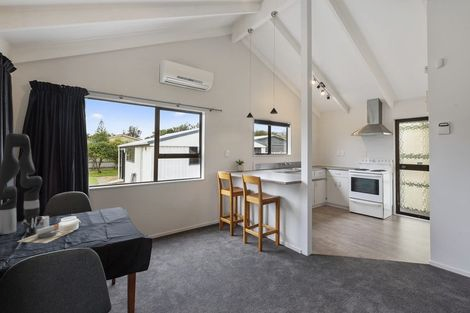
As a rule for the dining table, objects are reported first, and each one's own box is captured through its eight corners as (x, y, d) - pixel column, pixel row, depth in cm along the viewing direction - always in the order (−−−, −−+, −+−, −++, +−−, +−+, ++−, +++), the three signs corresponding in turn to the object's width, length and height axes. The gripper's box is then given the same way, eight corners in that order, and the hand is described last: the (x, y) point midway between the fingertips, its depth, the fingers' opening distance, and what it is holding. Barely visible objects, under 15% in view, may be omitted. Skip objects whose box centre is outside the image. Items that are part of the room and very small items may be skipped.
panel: (16, 243, 142) (16, 241, 142) (48, 231, 164) (48, 229, 164) (46, 245, 140) (46, 242, 140) (74, 232, 162) (74, 230, 162)
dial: (41, 239, 144) (40, 231, 144) (32, 237, 148) (32, 228, 148) (61, 233, 156) (61, 225, 155) (53, 231, 160) (53, 223, 160)
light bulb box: (26, 234, 158) (26, 219, 157) (32, 231, 164) (32, 216, 164) (44, 233, 160) (44, 218, 160) (49, 230, 167) (49, 215, 167)
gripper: (36, 204, 152) (36, 229, 152) (15, 209, 138) (15, 237, 139) (46, 204, 151) (46, 230, 152) (26, 209, 138) (27, 237, 138)
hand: (31, 233), depth 145 cm, fingers closed
